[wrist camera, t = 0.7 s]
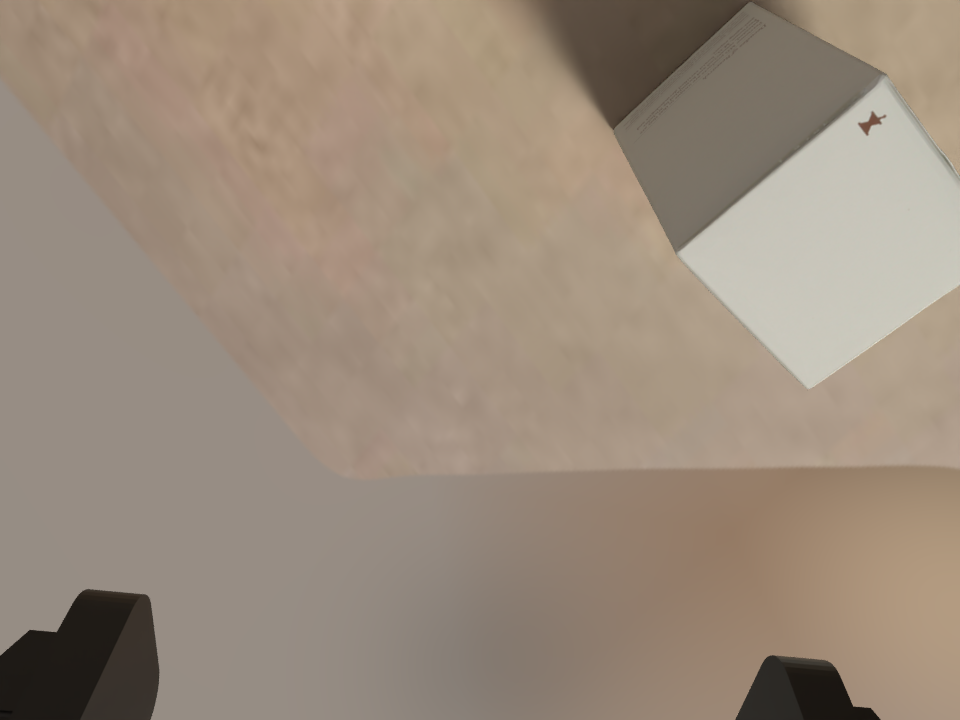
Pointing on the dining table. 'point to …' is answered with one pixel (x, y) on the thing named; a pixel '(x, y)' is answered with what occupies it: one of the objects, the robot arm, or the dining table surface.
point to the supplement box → (798, 191)
